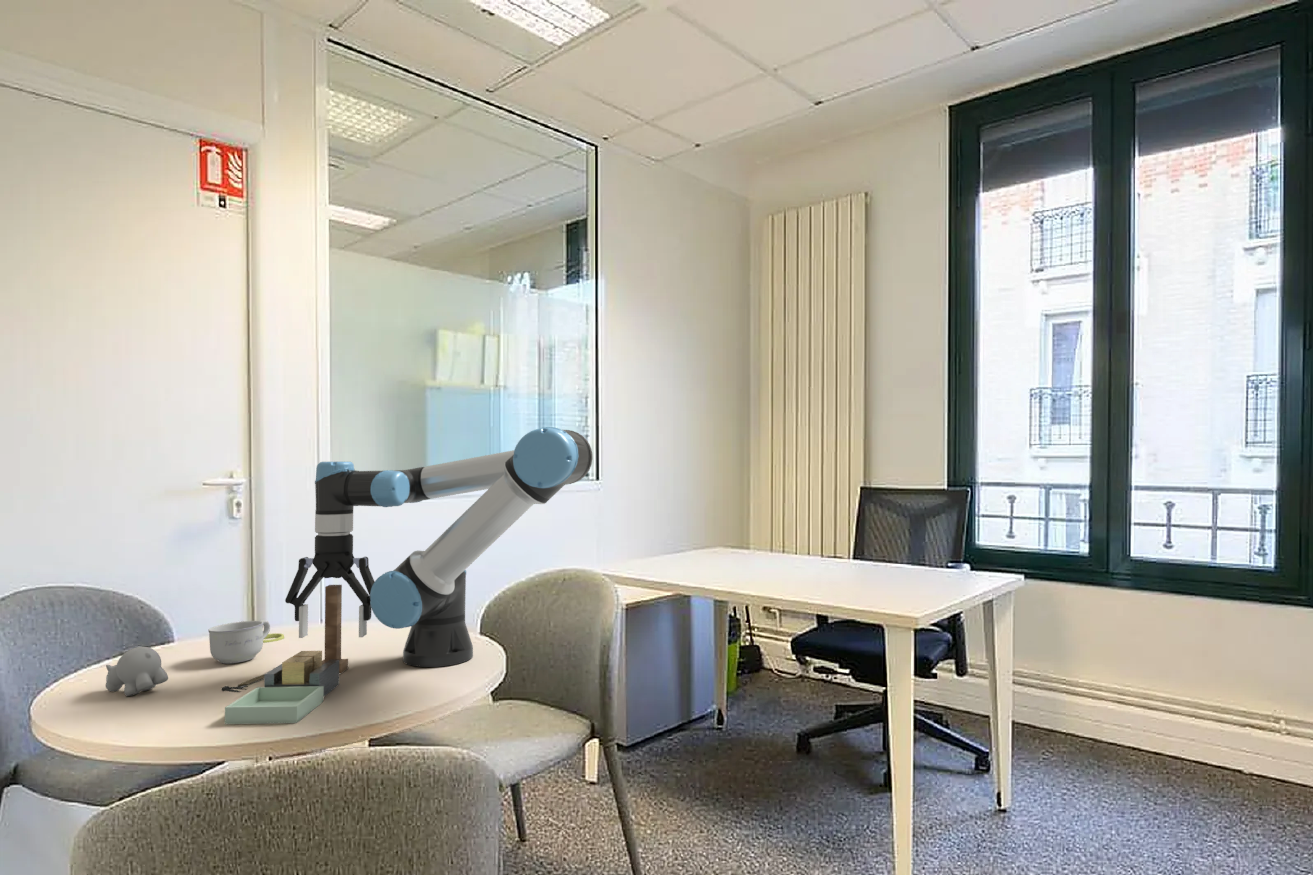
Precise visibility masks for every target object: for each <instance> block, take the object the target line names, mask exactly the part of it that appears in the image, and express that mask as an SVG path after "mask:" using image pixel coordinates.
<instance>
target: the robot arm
mask: <svg viewBox="0 0 1313 875" xmlns="http://www.w3.org/2000/svg"><path fill="white" fill-rule="evenodd" d="M592 464H593V450H592V447H591V445H590V443H589V441H588V440H587V439H586V438H585V437H584V436H583V434H580V433H578V432H577V431H574V430H569V429H561V428H558V427H553V426H545V427H540V428H537V429H533V430H530V431H529V432H527V433H525V435H523V436H522V437H521V438H520V440H518V442H517V444H516V445H515V447H514V450H508V451H502V452H495V453H492V454H491V453H490V454H487V455H486V454H485V455H481V456H476V457H475V456H474V457H470V458H466V459H459V460H454V461H448V462H443V463H437V464H433V465H428V466H427V465H425V466H420V467H413V468H410V469H402V470H401V469H400V470H398V469H395V470H393V469H390V470H388V469H387V470H384V469H383V470H355V465H354V463H353V461H320V462H318V464H317V465H316V471H315V480H314V486H315V487H314V488H315V515H314V532H315V534H316V535H315V536H314V556H313V558H312V557H311V558H310V557H308V556H305V557H302V558H299V559H298V568H297V571H296V574H295V575H294V578H293V581H292V583H291V585H290V588H289V590H288V593H287V595H286V598H285V599H284V601H285V603H286V604H291V605H293V606H294V620H295V622H298V639H303V638H305V637H306V636H308V634H309V633H308V632H309V627H308V626H309V604H305V603H306V601H307V600H308V598H309V597H310V595H311V594H312V592H314V590H315V589H316V587H317V586H318V584H319V583H320V582H321V580H323V579H330V578H334V579H340V578H342V579H343V580H344V581H345V582H346V583H347V584H348V586H349V587H350V588H351V590H352V591H353V593H354V594H355V596H356V597H357V598H358V600H359V601H360V602H361V605H359V607H358V638H364V637H365V636H366V635H367V634H368V632H367V631H368V629H367V627H368V621H370V620H371V619H372V613H373V615H374V616H375V618H376V619H377V620H378V621H379V622H380V623H381V624H382V625H384V626H385V627H388V628H391V629H395V630H397V629H406V628H410V630H409V632H408V634H407V638H406V641H405V644H404V648H403V651H402V662H403V663H405V664H406V665H409V666H413V667H419V668H420V667H421V668H422V667H423V668H430V667H431V668H435V667H445V666H446V667H447V666H452V665H457V664H461V663H465V662H467V661H469V660H471V659H472V658H474V657H473V656H474V645H473V641H472V639H471V636H470V633H469V630H468V626H467V623H466V593H467V592H466V589H467V588H466V587H467V586H466V585H467V584H466V582H467V579H466V576H467V570H466V569H468V567H470V566H471V565H472V564H473V563H474V562H475V561H476V560H477V559H478V558H479V557H480V556H481V555H483V553H484V552H485V551H486V550H487V549H489V548H490V547H491V546H492V545H493V544H494V543H495V542H496V541H497V540H498V539H499V538H500V537H502V535H504V533H505V532H506V531H507V530H508V529H509V528H511V527H512V526H513V524H515V523H516V522H517V521H518V520H519V519H520V518H521V517H522V516H523V515H524V514H525V513H526V512H527V511H528V510H529V509H531V507H533V505H545V504H547V502H549V501H550V500H551V499H552V497H553V498H554V495H556V494H557V493H558V492H559V491H560V490H561V489H563V487H564V486H567V485H571V484H575V483H577V482H579V481H581V480H582V479H583V478H584V477H586V476H587V474H588V473H589V472H590V469H591V467H592ZM485 490H486V491H485ZM479 491H485V492H484V493H483V494H482V495H480V497H479V498H478V499H476V501H475V502H474V503H473V504H472V505H470V506H469V507H468V509H466V510H465V512H463V513H462V514H461V515H460V516H459V517H458V518H457V519H456V520H455V521H453V523H452V524H451V525H450V526H449V527H448V528H447V529H446V530H445V531H444V532H442V534H440V536H438V537H437V539H436V540H434V542H432V544H430V545H429V546H428V547H427V548H426V549H424V550H414V551H413V552H412V553H411V554H409V555H408V556H407V558H405V559H404V560H403V561H402V562H401V563H400V564H399V565H398V566H397V567H396V568H395V569H393V570H389V571H386V572H384V573H382V574H381V575H379V577H377V578H376V580H375V579H374V577H373V575H372V572H371V570H370V567H369V565H370V564H369V557H367V556H363V557H355V556H354V535H353V534H352V533H351V532H353V531H354V507H360V506H361V507H382V508H389V507H390V508H392V507H400V506H402V505H404V504H415V503H420V502H423V501H427V500H432V499H440V498H444V497H449V496H456V495H461V494H468V493H473V492H479ZM312 565H313V566H314V568H315V569H316V571H315V573H313V575H312V577H311V579H310V580H309V581H308V583H307V584H306V586H305V587H303V590H302V591H301V592H300V590H301V589H302V586H303V583H304V581H305V579H306V576H307V574H308V571H309V568H311V567H312ZM353 565H356V568H357V569H359V570H358V571H359V573H360V577H361V578H362V580H363V583H364V585H365V587H364V586H363V585H362V583H360V581H359V580H358V578H357V577H356V575H355V573H354V571H353V570H352V567H354V566H353ZM365 588H366V589H365ZM298 594H299V595H298Z"/></svg>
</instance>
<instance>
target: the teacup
mask: <svg viewBox="0 0 1313 875" xmlns="http://www.w3.org/2000/svg"><path fill="white" fill-rule="evenodd" d="M270 631H271V624H270V622H269V621H268V620H267V619H260V620H245V621H244V620H242V621H234V622H229V623H222V624H218V625H215V626H213V627H210V628H209V629H208V633H209V634H208V635H209V637H208V638H209V652H210V656H211V657H212V658H213V659H214V660H216V661H218V662H219V663H220V664H225V665H227V664H237V663H242V662H247V661H250V660H252V659H254V658H256V656H257V655H258V654H259V653H260V652H261V651H262V649H263V646H264V643H263V640H265V639H264V638H265V637H266V636H267V635H268V634H270Z"/></svg>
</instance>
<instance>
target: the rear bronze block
mask: <svg viewBox="0 0 1313 875" xmlns="http://www.w3.org/2000/svg"><path fill="white" fill-rule="evenodd" d="M292 657H313V671H314V670H316V669H317V668H319V667H320V666H322V661H323V650H300V651H299V652H298V653H296V654H294V655H293V656H292Z"/></svg>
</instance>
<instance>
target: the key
mask: <svg viewBox="0 0 1313 875" xmlns="http://www.w3.org/2000/svg"><path fill="white" fill-rule="evenodd" d="M284 639H285V634H284V633H276V632H275V633H268V635H267V636H266V637H265V638H264V639H263V644H265V643H273V642H277V641H282V640H284Z"/></svg>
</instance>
